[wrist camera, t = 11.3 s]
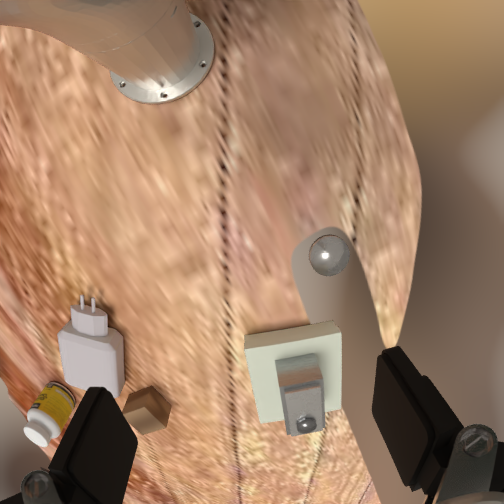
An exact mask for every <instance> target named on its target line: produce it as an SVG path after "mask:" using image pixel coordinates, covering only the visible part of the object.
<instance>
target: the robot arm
mask: <svg viewBox="0 0 504 504" xmlns="http://www.w3.org/2000/svg"><path fill="white" fill-rule="evenodd" d="M0 25H5V26H15V27H23V28H28V29H33V30H36V31H39V32H42V33H44V34H47V35H49V36H51V37H53V38H55V39H57V40H59V41H61V42H63V43H65V44H67V45H68V46H70V47H72V48H74V49H75V50H77V51H79V52H80V53H82V54H84V55H86V56H87V57H89V58H91V59H92V60H94V61H96V62H97V63H99V64H101V65H102V66H104V67H105V68H107V69H109V71H110V76H111V78H112V81H113V83H114V85H115V86H116V87H117V89H118V90H119V91H120V92H121V93H122V94H123V95H125V96H126V97H128V98H130V99H131V100H134V101H137V102H139V103H144V104H163V103H168V102H172V101H174V100H177V99H180V98H181V97H183V96H185V95H187V94H188V93H190V92H191V91H192V90H193V89H195V88H196V87H197V86H198V85H199V84H200V83H201V82H202V81H203V79H204V78H205V76H206V75H207V73H208V72H209V70H210V67H211V65H212V62H213V58H214V42H213V37H212V35H211V32H210V30H209V28H208V27H207V25H206V24H205V23H204V22H203V21H202V20H201V19H200V18H199V17H197V16H195V15H193V14H192V13H190V12H189V11H188V8H187V6H186V3H185V0H0ZM196 26H199V27H196ZM202 65H206V66H205V67H204V68H202ZM124 84H126V85H125V87H123V85H124ZM165 95H168V97H167V98H164V96H165ZM372 414H373V417H374V419H375V421H376V423H377V425H378V428H379V430H380V432H381V434H382V436H383V439H384V441H385V443H386V445H387V448H388V450H389V452H390V454H391V456H392V459H393V461H394V463H395V466H396V468H397V470H398V472H399V475H400V477H401V479H402V482H403V483H404V485H405V486H410V488H411V490H412V492H413V491H416V490H418V489H420V488H422V490H423V492H424V494H426V497H425V500H424V502H423V504H504V442H498V440H497V436H496V433H495V432H494V431H493V430H492V429H491V428H489V427H488V426H485V425H482V424H473V425H469V426H467V427H465V428H464V427H463V425H462V424H461V422H460V421H459V419H458V418H457V416H456V415H455V414H454V412H453V411H452V409H451V408H450V407H449V405H448V404H447V402H446V401H445V400H444V398H443V397H442V396H441V394H440V393H439V391H438V390H437V389H436V387H435V386H434V384H433V383H432V382H431V380H430V379H429V378H428V377H427V376H425V375H423V376H421V374H420V373H419V372H418V370H417V369H416V368H415V366H414V365H413V363H412V362H411V361H410V359H409V358H408V357H407V355H406V354H405V353H404V351H403V350H402V349H401V348H400V347H399V346H396V347H392V348H388V349H385V350H383V351H382V354H381V355H379V356H378V358H377V367H376V377H375V387H374V395H373V403H372ZM137 445H138V440H137V437H136V435H135V434H134V432H133V430H132V429H131V427H130V425H129V424H128V422H127V420H126V419H125V417H124V415H123V413H122V412H121V410H120V408H119V406H118V404H117V403H116V401H115V399H114V397H113V395H112V393H111V392H110V391H107V389H106V388H105V387H89V388H88V389H87V391H86V393H85V395H84V397H83V399H82V400H81V402H80V404H79V406H78V408H77V410H76V412H75V414H74V416H73V418H72V420H71V422H70V424H69V426H68V428H67V430H66V432H65V434H64V436H63V438H62V440H61V442H60V444H59V446H58V448H57V450H56V452H55V454H54V456H53V459H52V461H51V463H50V465H49V467H48V468H49V470H50V471H49V474H48V473H47V472H45V471H42V470H36V471H32V472H30V473H29V474H27V475H26V476H25V477H24V479H23V481H22V483H21V492H20V493H18V494H16V495H14V496H12V497H9V498H7V499H5V500H2V501H0V504H122V503H123V499H124V495H125V491H126V487H127V483H128V479H129V475H130V472H131V468H132V464H133V460H134V457H135V453H136V449H137Z"/></svg>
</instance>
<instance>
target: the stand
mask: <svg viewBox="0 0 504 504" xmlns="http://www.w3.org/2000/svg"><path fill="white" fill-rule="evenodd" d="M244 340H245V343H244V351H245V356H246V360H247V365H248V370H249V374H250V379H251V384H252V388H253V393H254V397H255V402H256V406H257V411H258V415H259V420H260V423H268V422H274V421H281V420H285V419H284V413H283V407H282V401H281V395H280V389H279V383H278V377H277V371H276V365H275V360H279V359H284V358H290V357H295V356H300V355H306V354H311V353H314V354H315V357H316V359H317V362H318V365H319V368H320V370H321V373H322V376H323V381H324V403H325V412H329V411H333V410H338V409H341V385H342V383H341V380H342V351H341V350H342V348H341V347H342V343H341V342H342V341H341V331H340V329H339V327H337V326H336V325H335V323H334V321H333V320H332V321H327V322H322V323H317V324H311V325H306V326H300V327H294V328H289V329H283V330H277V331H271V332H264V333H258V334H251V335H244Z"/></svg>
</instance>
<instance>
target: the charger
mask: <svg viewBox="0 0 504 504" xmlns="http://www.w3.org/2000/svg"><path fill="white" fill-rule="evenodd" d="M91 300H92V307H91V306H87V305H84V295H80V302H81V305H71V319H72V320H70V321H69V322H68V323H67V324H66V325H65V326H64V327H63V328H62V329H61V330H60V331H59V333H58V334H57V335H58V342H59V349H60V355H61V361H62V367H63V372H64V377H65V381H66V383H68V384H69V385H71V386H74V387H77V388H80V389H83V390H86V391H87V389H88V388H89V387H105V388H106V389H107V391H110V392H111V393H112V395H113V397H114V398H116V397H119V396H120V393H121V391H122V389H123V386H124V384H125V377H124V350H123V336H122V335H121V334H120V333H119V332H118V331H117V330H116V329H113V328H109V327H108V323H107V314H106V312H104V311H102V310H101V309H99V308H95V298H94V297H93V298H91Z"/></svg>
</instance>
